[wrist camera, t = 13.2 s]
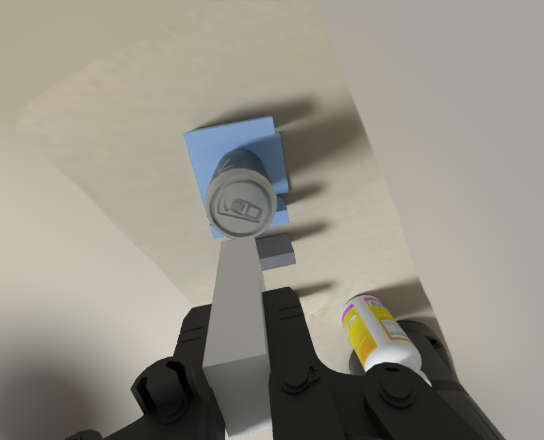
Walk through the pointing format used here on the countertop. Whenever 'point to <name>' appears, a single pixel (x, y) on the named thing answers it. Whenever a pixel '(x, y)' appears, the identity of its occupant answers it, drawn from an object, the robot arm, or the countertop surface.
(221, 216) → the beer can
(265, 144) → the blue bezel pad
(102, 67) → the countertop surface
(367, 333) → the supplement bottle
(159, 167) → the countertop surface
